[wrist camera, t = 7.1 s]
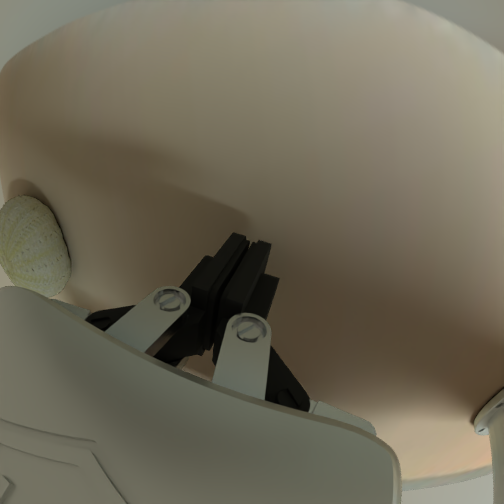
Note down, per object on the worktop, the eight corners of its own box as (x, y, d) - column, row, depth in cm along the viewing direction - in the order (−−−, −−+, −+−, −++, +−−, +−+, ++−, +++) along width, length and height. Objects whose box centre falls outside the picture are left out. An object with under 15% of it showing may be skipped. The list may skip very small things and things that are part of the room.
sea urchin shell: (0, 176, 14) (-31, 237, 9) (77, 178, 19) (69, 239, 14) (8, 255, 19) (-3, 319, 14) (72, 256, 24) (74, 320, 19)
